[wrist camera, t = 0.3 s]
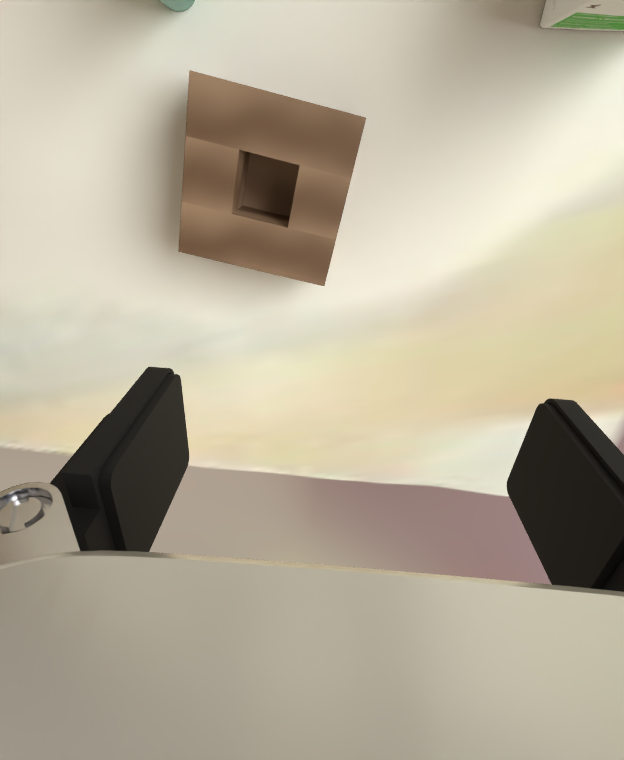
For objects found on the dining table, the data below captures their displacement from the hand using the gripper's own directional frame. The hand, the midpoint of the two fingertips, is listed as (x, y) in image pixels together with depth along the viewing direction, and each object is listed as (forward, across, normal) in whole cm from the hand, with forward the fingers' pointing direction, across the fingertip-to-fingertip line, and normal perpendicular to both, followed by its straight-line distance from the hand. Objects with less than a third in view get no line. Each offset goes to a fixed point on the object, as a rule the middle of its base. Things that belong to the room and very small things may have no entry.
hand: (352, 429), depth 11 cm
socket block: (+30, +6, -3) cm, 31 cm away
